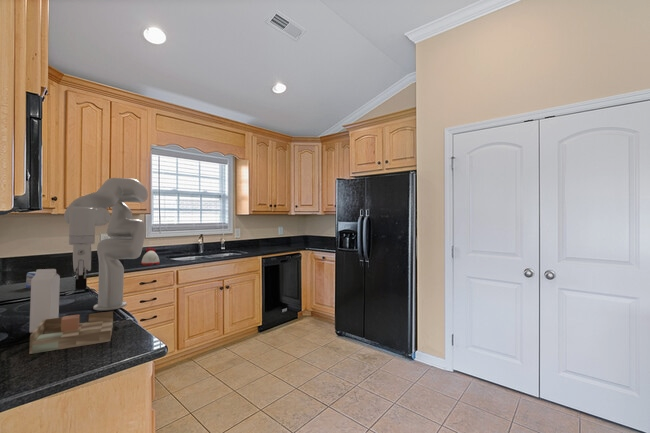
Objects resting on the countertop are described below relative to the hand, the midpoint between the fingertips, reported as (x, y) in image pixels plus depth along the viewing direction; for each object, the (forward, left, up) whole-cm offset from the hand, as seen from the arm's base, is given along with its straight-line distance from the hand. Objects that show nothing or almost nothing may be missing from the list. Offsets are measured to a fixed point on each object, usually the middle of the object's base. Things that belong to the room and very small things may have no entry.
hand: (80, 289), depth 114 cm
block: (+7, -2, -12) cm, 14 cm away
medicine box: (-91, -30, -15) cm, 97 cm away
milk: (-5, -11, -15) cm, 19 cm away
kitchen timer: (-167, +31, -15) cm, 171 cm away
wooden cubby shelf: (+11, 0, -15) cm, 18 cm away
